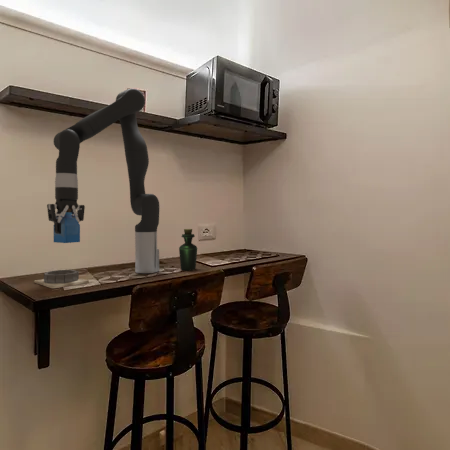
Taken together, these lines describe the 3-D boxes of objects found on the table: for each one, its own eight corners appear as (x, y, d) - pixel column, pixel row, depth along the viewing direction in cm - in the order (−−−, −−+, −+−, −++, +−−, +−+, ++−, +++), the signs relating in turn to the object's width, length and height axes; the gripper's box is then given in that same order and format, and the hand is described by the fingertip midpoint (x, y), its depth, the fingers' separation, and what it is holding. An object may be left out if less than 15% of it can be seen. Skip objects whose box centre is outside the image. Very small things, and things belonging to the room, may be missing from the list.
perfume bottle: (79, 241, 130) (79, 209, 129) (65, 243, 124) (65, 208, 124) (68, 241, 133) (68, 209, 132) (53, 242, 127) (53, 208, 127)
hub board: (69, 277, 139) (69, 267, 139) (88, 282, 130) (88, 272, 129) (34, 282, 130) (34, 272, 129) (52, 288, 120) (52, 277, 120)
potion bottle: (187, 271, 153) (187, 229, 152) (175, 269, 158) (175, 229, 157) (201, 269, 159) (201, 229, 158) (188, 267, 164) (188, 228, 163)
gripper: (55, 184, 120) (55, 234, 120) (90, 187, 132) (90, 232, 133) (41, 185, 123) (41, 233, 124) (76, 188, 136) (76, 232, 136)
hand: (66, 233), depth 128 cm, fingers closed on perfume bottle, 6 cm apart
